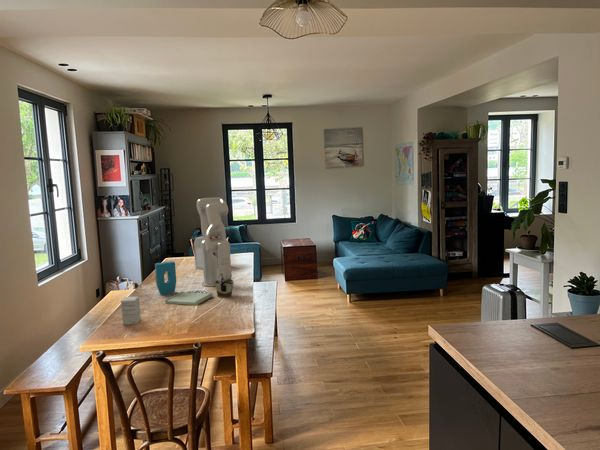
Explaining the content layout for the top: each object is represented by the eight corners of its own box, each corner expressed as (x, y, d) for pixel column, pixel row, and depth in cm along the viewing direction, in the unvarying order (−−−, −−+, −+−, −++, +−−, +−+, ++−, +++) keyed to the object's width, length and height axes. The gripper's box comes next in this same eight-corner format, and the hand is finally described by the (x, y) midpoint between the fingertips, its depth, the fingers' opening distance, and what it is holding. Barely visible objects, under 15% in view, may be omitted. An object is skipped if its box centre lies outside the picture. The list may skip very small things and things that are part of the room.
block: (158, 295, 280) (156, 264, 278) (156, 294, 284) (154, 263, 282) (177, 292, 286) (175, 262, 284) (175, 290, 291) (173, 261, 288)
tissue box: (224, 266, 365) (223, 234, 362) (209, 270, 350) (207, 237, 347) (210, 265, 373) (208, 233, 370) (194, 269, 359) (192, 236, 356)
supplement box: (126, 320, 233) (124, 296, 232) (141, 319, 234) (139, 296, 232) (122, 324, 226) (120, 300, 224) (137, 323, 226) (135, 299, 225)
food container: (237, 295, 274) (237, 279, 273) (233, 297, 269) (232, 281, 268) (220, 294, 278) (219, 278, 277) (215, 296, 272) (214, 280, 271)
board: (182, 294, 280) (182, 291, 280) (212, 296, 274) (212, 292, 274) (165, 303, 262) (165, 299, 262) (196, 305, 256) (196, 301, 256)
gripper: (225, 258, 281) (227, 286, 282) (212, 264, 264) (214, 293, 266) (236, 259, 278) (237, 287, 280) (223, 264, 262) (225, 294, 264)
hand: (226, 289), depth 273 cm, fingers closed on food container, 6 cm apart
